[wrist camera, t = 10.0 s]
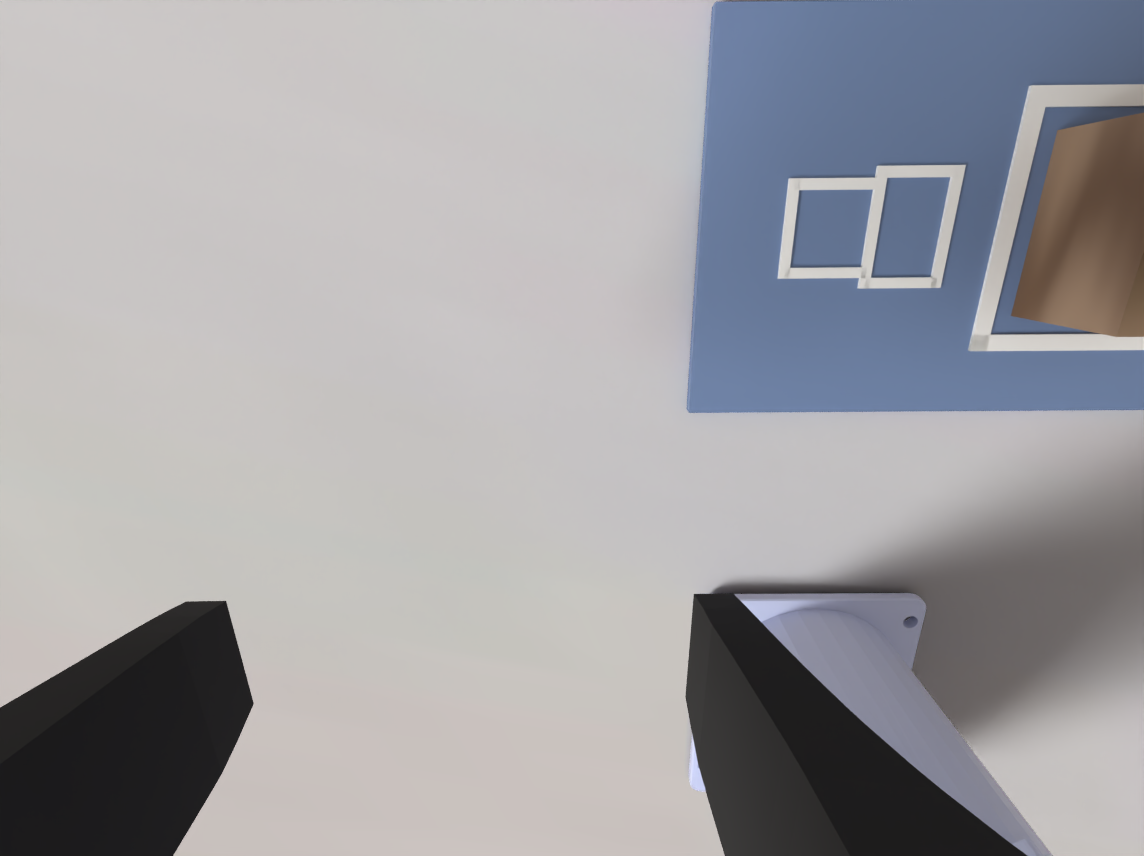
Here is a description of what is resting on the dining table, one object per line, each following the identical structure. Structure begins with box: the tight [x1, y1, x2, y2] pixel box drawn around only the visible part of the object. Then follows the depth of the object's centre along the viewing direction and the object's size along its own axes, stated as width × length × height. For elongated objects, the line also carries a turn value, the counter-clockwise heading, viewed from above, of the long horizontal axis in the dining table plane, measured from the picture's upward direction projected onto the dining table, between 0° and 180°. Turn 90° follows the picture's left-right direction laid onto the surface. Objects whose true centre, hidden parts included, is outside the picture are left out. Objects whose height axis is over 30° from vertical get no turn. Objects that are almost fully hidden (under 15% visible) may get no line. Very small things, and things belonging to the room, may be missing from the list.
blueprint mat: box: [687, 0, 1144, 413], centre depth 16 cm, size 11×16×1 cm
